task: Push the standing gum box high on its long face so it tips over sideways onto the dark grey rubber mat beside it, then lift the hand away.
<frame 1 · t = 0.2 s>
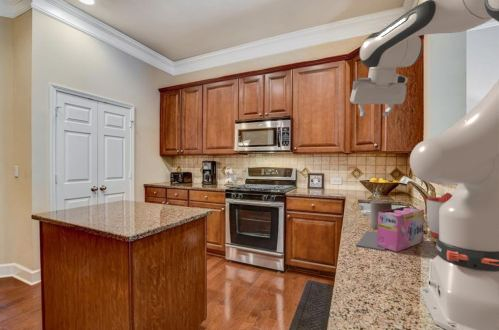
hand: (374, 116, 94), 52 cm above the countertop, tool tilted 20°, fingers open, 8 cm apart
citrus juicer: (449, 237, 107), on the countertop
pillar candle: (381, 228, 123), on the countertop
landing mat: (374, 240, 104), on the countertop
gum box: (400, 244, 98), on the countertop, touching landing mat
chocolate bar: (408, 235, 113), on the countertop
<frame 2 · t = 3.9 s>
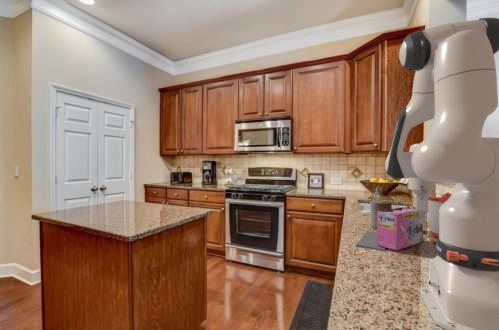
hand: (422, 220, 94), 11 cm above the countertop, tool pointing down, fingers open, 8 cm apart
nothing on the countertop moved.
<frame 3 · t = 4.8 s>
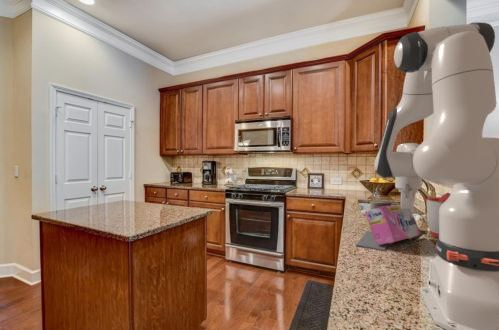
hand: (407, 217, 97), 11 cm above the countertop, tool pointing down, fingers open, 8 cm apart
gum box: (400, 240, 98), point 2 cm above the countertop, touching gripper, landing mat
everything else where it was.
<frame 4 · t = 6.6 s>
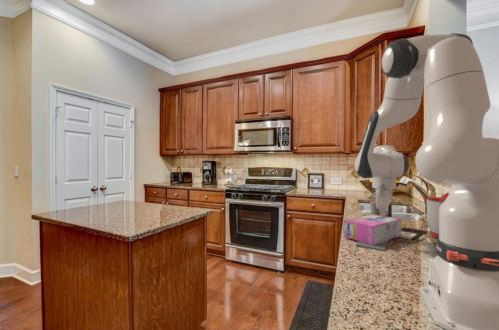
hand: (384, 216, 102), 11 cm above the countertop, tool pointing down, fingers open, 8 cm apart
gum box: (388, 231, 101), point 4 cm above the countertop, touching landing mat
everything else where it was.
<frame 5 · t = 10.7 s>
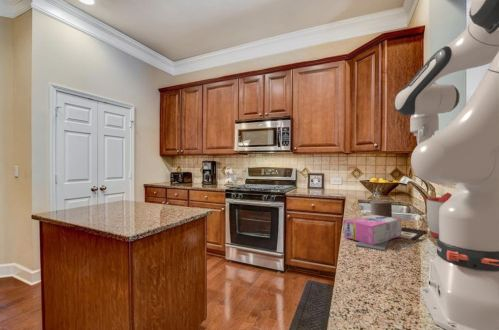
hand: (424, 163, 92), 33 cm above the countertop, tool pointing down, fingers open, 8 cm apart
nothing on the countertop moved.
at the end: gum box tilted 90°; gum box touching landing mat; the gripper is holding nothing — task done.
